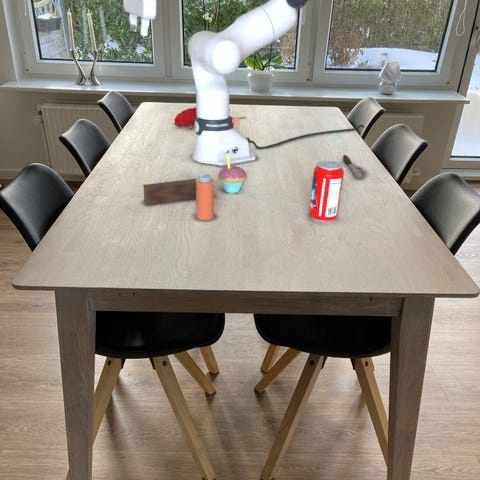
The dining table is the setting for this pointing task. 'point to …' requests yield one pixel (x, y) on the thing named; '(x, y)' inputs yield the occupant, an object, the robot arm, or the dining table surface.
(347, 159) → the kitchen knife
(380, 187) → the dining table surface
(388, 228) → the dining table surface
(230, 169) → the cupcake
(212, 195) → the capped bottle
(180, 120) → the flower
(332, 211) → the soda can
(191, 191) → the wall
